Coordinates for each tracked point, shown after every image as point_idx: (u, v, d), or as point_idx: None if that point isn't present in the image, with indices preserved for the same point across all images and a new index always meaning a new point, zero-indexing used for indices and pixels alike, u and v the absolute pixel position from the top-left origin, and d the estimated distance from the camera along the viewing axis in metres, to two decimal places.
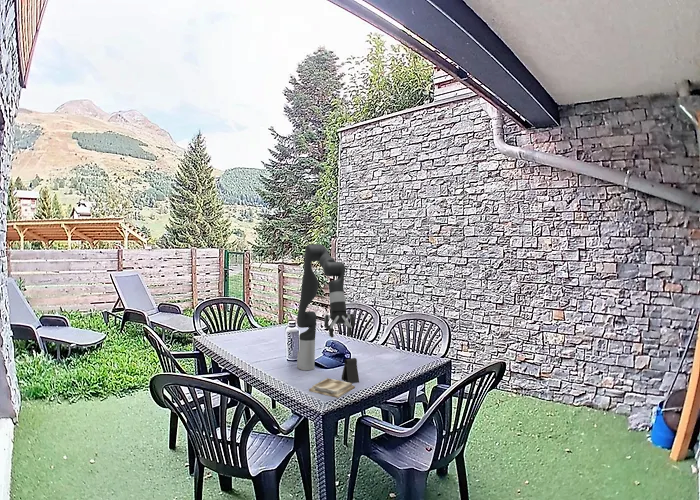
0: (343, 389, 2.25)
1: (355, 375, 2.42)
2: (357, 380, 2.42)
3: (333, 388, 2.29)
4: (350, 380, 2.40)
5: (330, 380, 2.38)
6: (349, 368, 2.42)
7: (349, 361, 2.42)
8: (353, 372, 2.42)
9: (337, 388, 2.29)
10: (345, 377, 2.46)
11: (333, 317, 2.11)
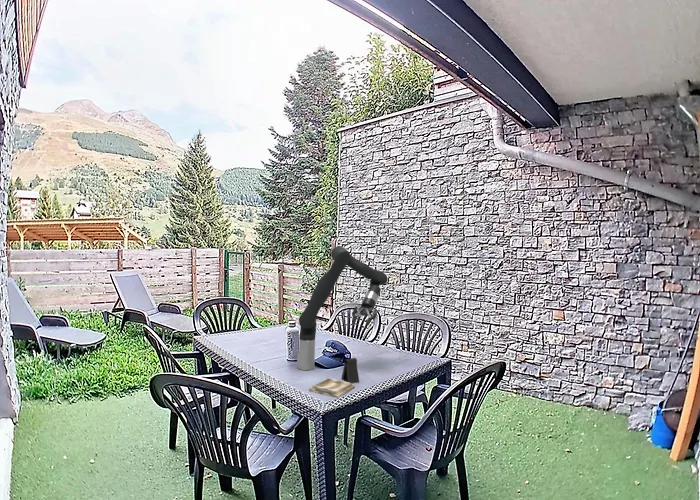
0: (343, 389, 2.25)
1: (355, 375, 2.42)
2: (357, 380, 2.42)
3: (333, 388, 2.29)
4: (350, 380, 2.40)
5: (330, 380, 2.38)
6: (349, 368, 2.42)
7: (349, 361, 2.42)
8: (353, 372, 2.42)
9: (337, 388, 2.29)
10: (345, 377, 2.46)
11: None
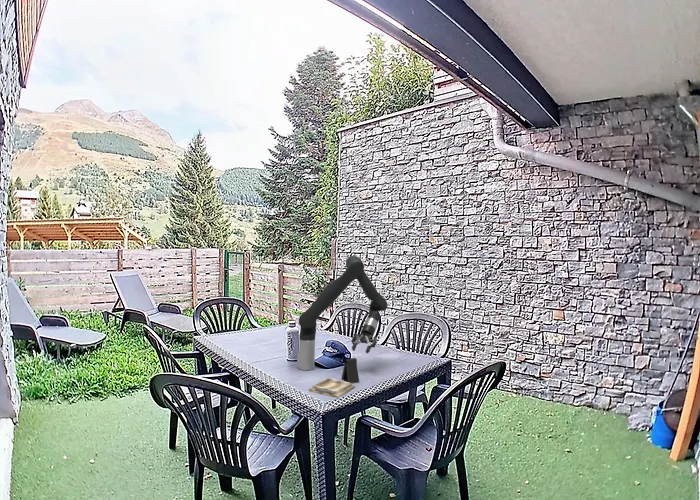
0: (343, 389, 2.25)
1: (355, 375, 2.42)
2: (357, 380, 2.42)
3: (333, 388, 2.29)
4: (350, 380, 2.40)
5: (330, 380, 2.38)
6: (349, 368, 2.42)
7: (349, 361, 2.42)
8: (353, 372, 2.42)
9: (337, 388, 2.29)
10: (345, 377, 2.46)
11: None
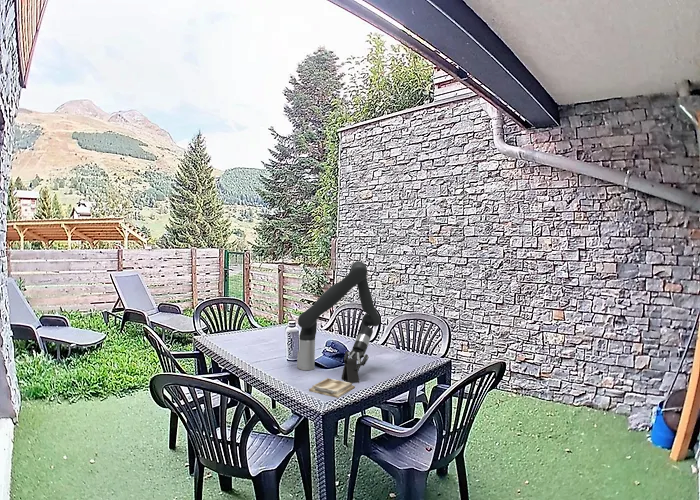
0: (343, 389, 2.25)
1: (355, 375, 2.42)
2: (357, 380, 2.42)
3: (333, 388, 2.29)
4: (350, 380, 2.40)
5: (330, 380, 2.38)
6: (349, 368, 2.42)
7: (349, 361, 2.42)
8: (353, 372, 2.42)
9: (337, 388, 2.29)
10: (345, 377, 2.46)
11: None
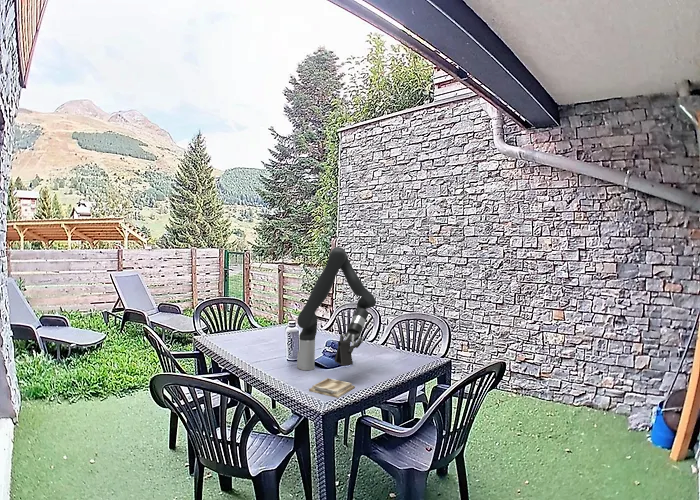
0: (343, 389, 2.25)
1: (349, 357, 2.38)
2: (350, 362, 2.37)
3: (333, 388, 2.29)
4: (343, 362, 2.35)
5: (330, 380, 2.38)
6: (342, 350, 2.37)
7: (343, 343, 2.37)
8: (346, 354, 2.37)
9: (337, 388, 2.29)
10: (338, 359, 2.41)
11: None
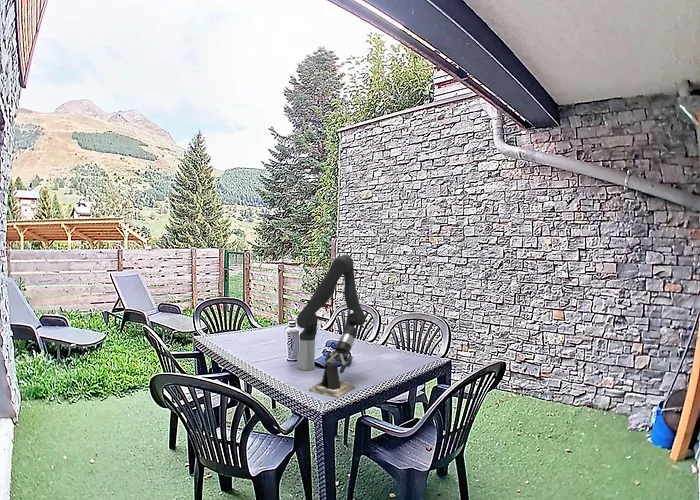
0: (343, 389, 2.25)
1: (336, 381, 2.29)
2: (338, 386, 2.29)
3: None
4: (331, 386, 2.26)
5: None
6: (330, 374, 2.28)
7: (330, 366, 2.29)
8: (334, 378, 2.29)
9: None
10: (325, 383, 2.32)
11: None
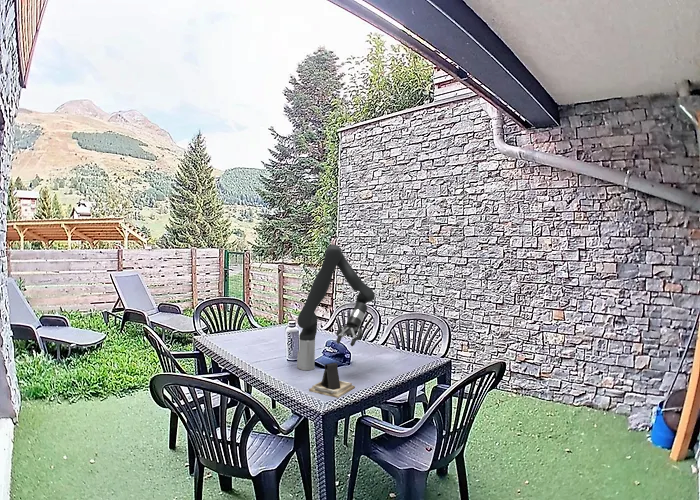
0: (343, 389, 2.25)
1: (336, 381, 2.29)
2: (338, 386, 2.29)
3: None
4: (331, 386, 2.26)
5: None
6: (330, 374, 2.28)
7: (330, 366, 2.29)
8: (334, 378, 2.29)
9: None
10: (325, 383, 2.32)
11: None
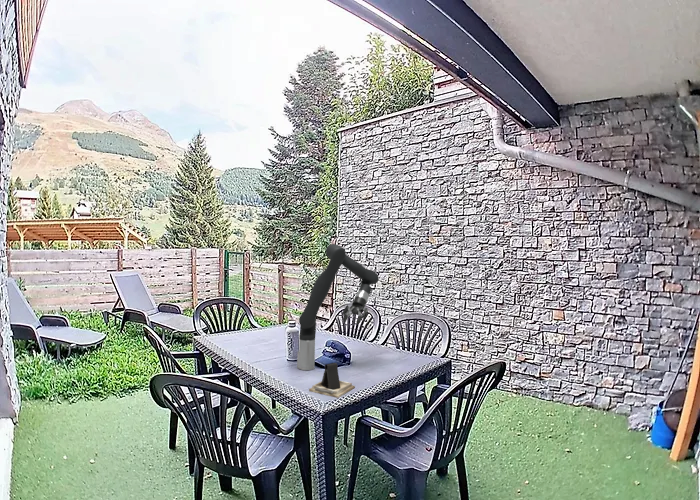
0: (343, 389, 2.25)
1: (336, 381, 2.29)
2: (338, 386, 2.29)
3: None
4: (331, 386, 2.26)
5: None
6: (330, 374, 2.28)
7: (330, 366, 2.29)
8: (334, 378, 2.29)
9: None
10: (325, 383, 2.32)
11: None
